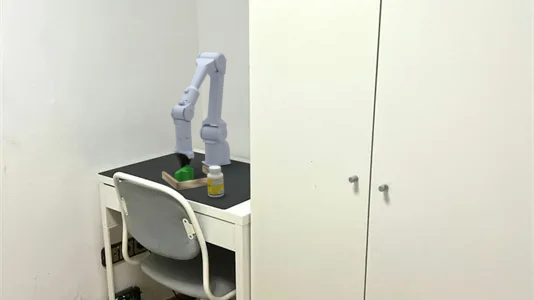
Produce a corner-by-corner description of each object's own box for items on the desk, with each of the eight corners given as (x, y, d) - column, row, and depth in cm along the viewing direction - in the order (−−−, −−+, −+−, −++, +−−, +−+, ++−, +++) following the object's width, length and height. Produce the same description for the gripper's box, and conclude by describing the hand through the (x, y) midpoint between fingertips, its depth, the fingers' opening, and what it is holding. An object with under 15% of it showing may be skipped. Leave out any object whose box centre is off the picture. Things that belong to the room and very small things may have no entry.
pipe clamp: (184, 186, 203) (184, 174, 202) (174, 185, 204) (174, 173, 203) (196, 177, 214) (196, 165, 212) (187, 176, 215) (187, 164, 213)
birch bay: (205, 171, 220) (204, 164, 220) (222, 182, 207) (222, 175, 206) (162, 178, 212) (161, 171, 212) (177, 190, 199) (177, 183, 198)
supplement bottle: (207, 192, 196) (206, 165, 194) (223, 192, 197) (223, 164, 194) (207, 198, 191) (206, 169, 189) (224, 197, 192) (223, 169, 189)
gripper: (166, 134, 216) (168, 169, 219) (180, 142, 203) (181, 179, 207) (184, 132, 219) (185, 166, 222) (198, 140, 207) (200, 176, 210)
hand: (185, 172), depth 215 cm, fingers closed
